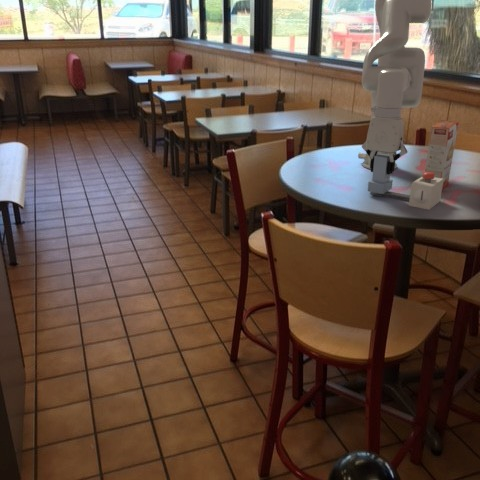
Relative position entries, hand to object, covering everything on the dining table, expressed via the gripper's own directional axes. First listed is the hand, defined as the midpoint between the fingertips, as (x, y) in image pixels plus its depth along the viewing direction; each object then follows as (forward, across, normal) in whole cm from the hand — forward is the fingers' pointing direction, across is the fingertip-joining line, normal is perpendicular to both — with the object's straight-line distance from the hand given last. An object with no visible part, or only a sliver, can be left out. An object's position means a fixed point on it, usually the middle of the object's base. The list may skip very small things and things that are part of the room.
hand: (381, 171), depth 160 cm
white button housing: (+7, +14, 0) cm, 16 cm away
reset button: (+1, +15, 0) cm, 15 cm away
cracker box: (+8, +12, +19) cm, 23 cm away
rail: (+7, +4, 0) cm, 9 cm away
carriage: (+6, 0, 0) cm, 6 cm away
